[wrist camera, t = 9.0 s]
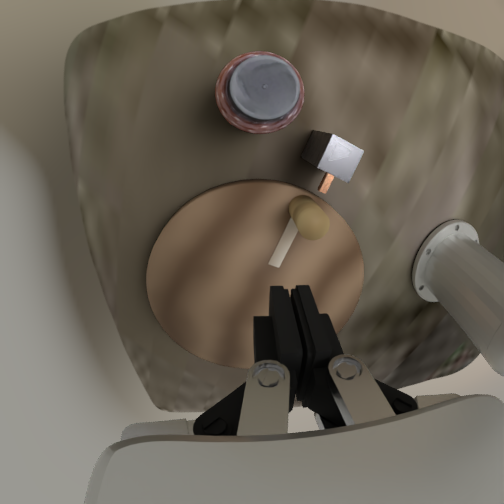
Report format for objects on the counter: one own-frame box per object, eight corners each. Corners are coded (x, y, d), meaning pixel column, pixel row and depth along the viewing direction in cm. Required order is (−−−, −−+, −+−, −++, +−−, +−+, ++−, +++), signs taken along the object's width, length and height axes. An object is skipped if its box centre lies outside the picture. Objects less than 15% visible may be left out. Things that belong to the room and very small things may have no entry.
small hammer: (339, 143, 26) (364, 151, 21) (319, 184, 28) (339, 201, 23) (313, 130, 25) (333, 134, 20) (293, 172, 27) (308, 186, 22)
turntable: (392, 231, 30) (421, 257, 24) (298, 371, 40) (306, 405, 34) (188, 143, 25) (174, 150, 19) (135, 328, 34) (122, 363, 29)
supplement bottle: (249, 142, 26) (259, 159, 16) (206, 98, 24) (187, 85, 13) (296, 104, 24) (336, 96, 14) (254, 59, 22) (268, 21, 12)
